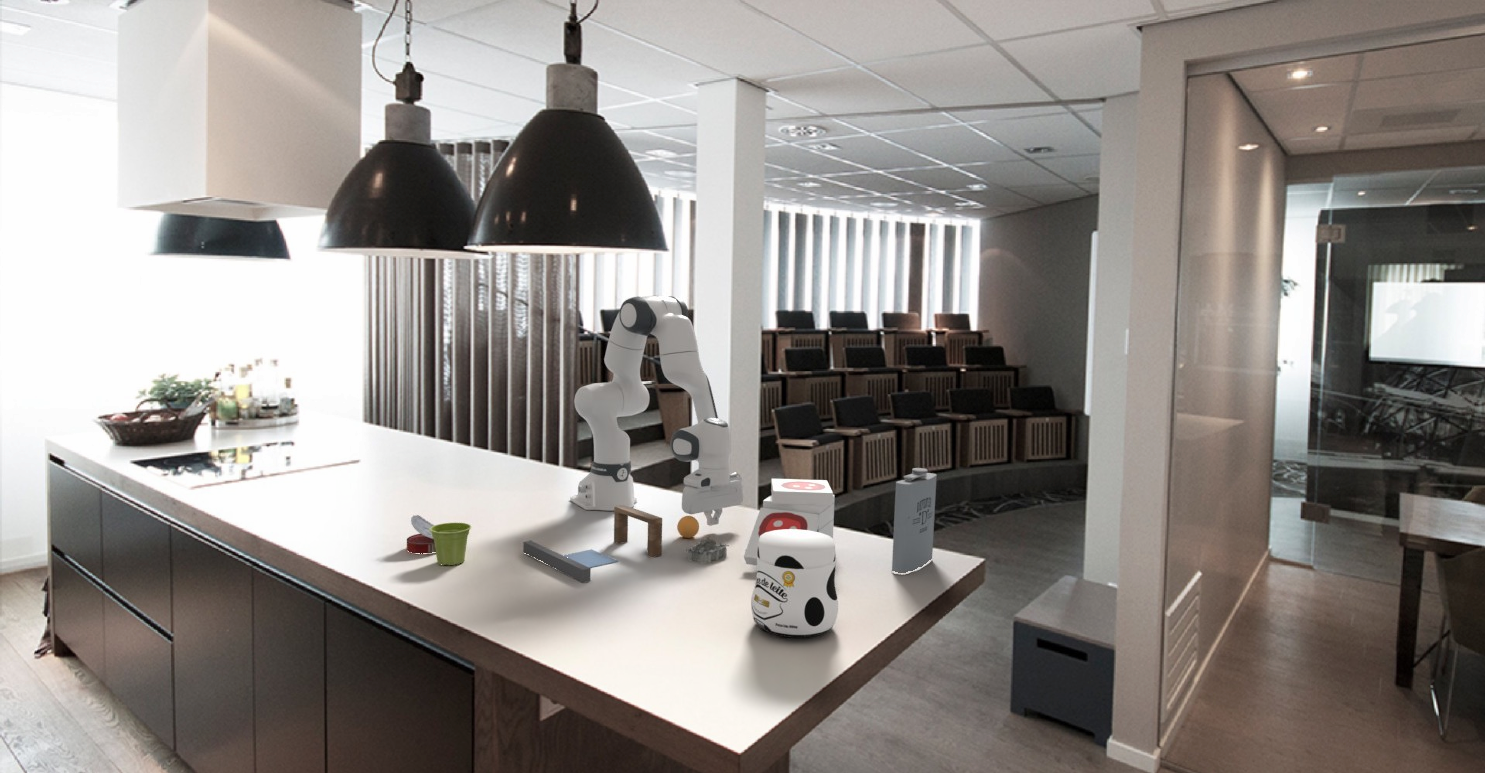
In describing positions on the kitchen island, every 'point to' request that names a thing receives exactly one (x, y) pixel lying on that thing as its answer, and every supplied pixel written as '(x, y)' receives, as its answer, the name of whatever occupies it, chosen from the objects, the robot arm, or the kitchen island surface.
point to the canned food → (421, 537)
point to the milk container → (795, 583)
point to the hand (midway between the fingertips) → (712, 524)
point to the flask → (914, 520)
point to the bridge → (653, 521)
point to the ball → (688, 526)
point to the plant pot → (450, 542)
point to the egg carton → (706, 551)
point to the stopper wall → (557, 561)
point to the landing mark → (591, 558)
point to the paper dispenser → (793, 510)
